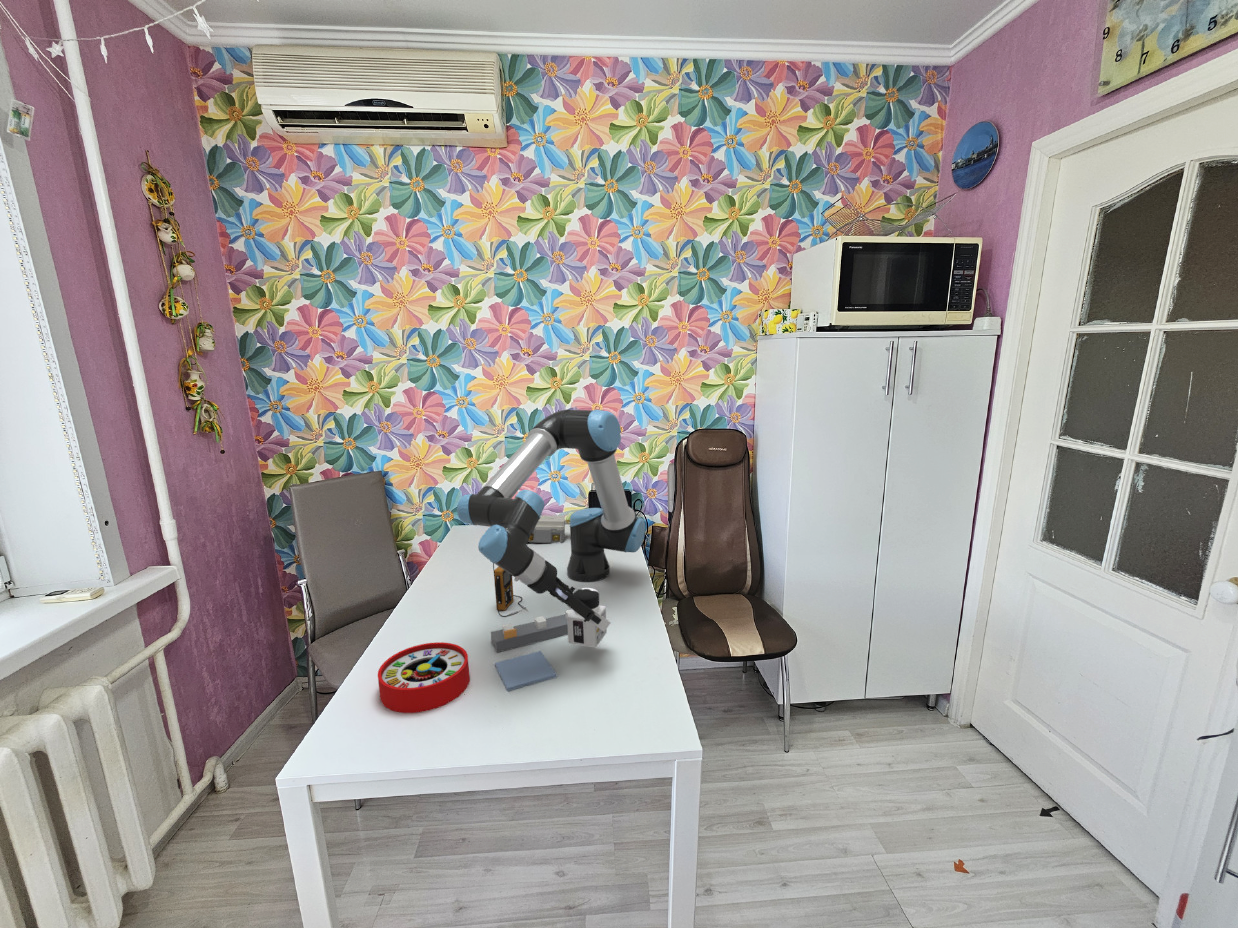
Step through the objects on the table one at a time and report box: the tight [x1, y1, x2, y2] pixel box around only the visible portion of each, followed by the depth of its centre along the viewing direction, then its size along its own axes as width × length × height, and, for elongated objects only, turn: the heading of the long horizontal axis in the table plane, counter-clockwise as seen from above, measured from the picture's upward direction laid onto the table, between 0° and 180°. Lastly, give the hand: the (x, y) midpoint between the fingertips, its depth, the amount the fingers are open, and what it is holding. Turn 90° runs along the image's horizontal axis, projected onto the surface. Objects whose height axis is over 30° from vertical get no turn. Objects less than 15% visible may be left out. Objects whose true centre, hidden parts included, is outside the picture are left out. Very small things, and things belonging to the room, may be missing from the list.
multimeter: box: [492, 563, 528, 618], centre depth 166 cm, size 15×10×20 cm
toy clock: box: [377, 641, 471, 714], centre depth 127 cm, size 20×6×20 cm
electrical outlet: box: [528, 514, 570, 544], centre depth 229 cm, size 12×28×10 cm, turn 95°
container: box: [567, 587, 608, 648], centre depth 138 cm, size 8×8×13 cm
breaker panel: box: [490, 608, 573, 653], centre depth 149 cm, size 26×6×5 cm, turn 116°
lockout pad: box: [494, 650, 558, 692], centre depth 133 cm, size 12×12×1 cm
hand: (597, 617), depth 139 cm, fingers closed on container, 10 cm apart
